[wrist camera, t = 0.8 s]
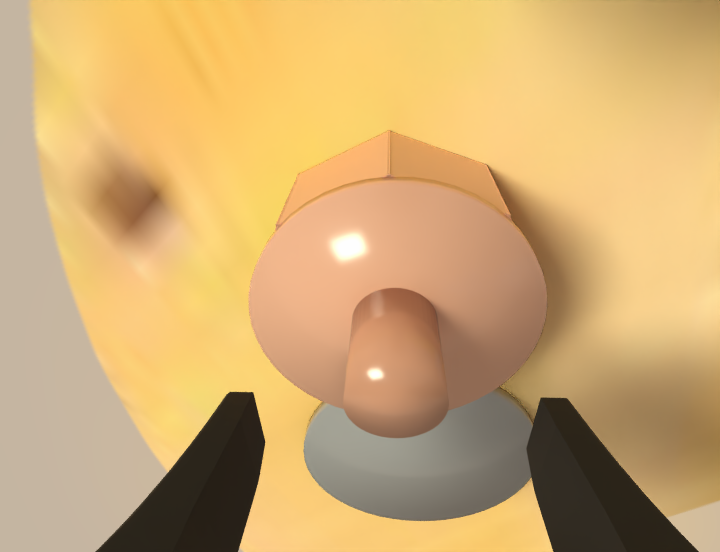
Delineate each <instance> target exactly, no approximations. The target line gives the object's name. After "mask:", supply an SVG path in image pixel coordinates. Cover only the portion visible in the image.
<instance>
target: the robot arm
mask: <svg viewBox="0 0 720 552" xmlns="http://www.w3.org/2000/svg"><path fill="white" fill-rule="evenodd" d="M264 447H265V439H264V435H263V431H262V426H261V422H260V418H259V414H258V410H257V406H256V402H255V398H254V394H253V392H229V393H228V394H227V395H226V396H225V398H224V399H223V401H222V402H221V403H220V405H219V406H218V408H217V409H216V410H215V412H214V413H213V415H212V416H211V417H210V419H209V420H208V422H207V423H206V424H205V426H204V427H203V428H202V430H201V431H200V432H199V434H198V435H197V436H196V438H195V439H194V440H193V442H192V443H191V444H190V446H189V447H188V448H187V449H186V451H185V452H184V453H183V454H182V456H181V457H180V458H179V459H178V461H177V462H176V463H175V465H174V466H173V467H172V468H171V470H170V471H169V472H168V473H167V474H166V476H165V477H164V478H163V479H162V480H161V481H160V483H159V484H158V485H157V486H156V487H155V488H154V490H153V491H152V492H151V493H150V494H149V495H148V497H147V498H146V499H145V500H144V501H143V502H142V504H141V505H140V506H139V507H138V508H137V509H136V510H135V511H134V512H133V514H132V515H131V516H130V517H129V518H128V519H127V520H126V521H125V522H124V523H123V524H122V525H121V526H120V527H119V529H118V530H116V532H115V533H114V534H113V535H112V536H111V537H110V538H109V539H108V540H107V541H106V542H105V543H104V544H103V545H102V546H101V547H100V548H99V549H98V550H97V551H96V552H238V550H239V546H240V543H241V539H242V536H243V533H244V529H245V526H246V523H247V519H248V516H249V512H250V509H251V505H252V502H253V499H254V495H255V492H256V488H257V485H258V480H259V475H260V470H261V464H262V459H263V453H264ZM526 450H527V455H528V461H529V466H530V472H531V477H532V481H533V486H534V491H535V494H536V498H537V501H538V504H539V507H540V510H541V514H542V517H543V520H544V523H545V527H546V530H547V533H548V536H549V539H550V542H551V545H552V549H553V552H699V551H698V550H697V549H696V548H695V547H694V546H692V544H691V543H690V542H689V541H688V540H687V539H686V538H685V537H684V536H683V535H682V534H681V533H680V532H679V531H678V530H677V529H676V528H675V527H674V526H673V525H672V524H671V522H670V521H669V520H668V519H667V518H666V517H665V516H664V515H663V514H662V513H661V512H660V510H659V509H658V508H657V507H656V506H655V505H654V504H653V503H652V502H651V501H650V499H649V498H648V497H647V496H646V495H645V494H644V493H643V492H642V490H641V489H640V488H639V487H638V486H637V485H636V483H635V482H634V481H633V480H632V479H631V478H630V476H629V475H628V474H627V473H626V472H625V470H624V469H623V468H622V467H621V466H620V465H619V463H618V462H617V461H616V460H615V459H614V457H613V456H612V455H611V454H610V452H609V451H608V450H607V449H606V447H605V446H604V445H603V444H602V442H601V441H600V440H599V439H598V437H597V436H596V435H595V434H594V432H593V431H592V430H591V429H590V427H589V426H588V425H587V423H586V422H585V421H584V419H583V418H582V417H581V416H580V414H579V413H578V412H577V410H576V409H575V408H574V406H573V405H572V404H571V403H570V401H569V400H568V399H567V398H541V399H540V402H539V406H538V409H537V413H536V416H535V420H534V423H533V427H532V430H531V434H530V437H529V441H528V444H527V448H526Z"/></svg>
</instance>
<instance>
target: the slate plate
mask: <svg viewBox="0 0 720 552" xmlns="http://www.w3.org/2000/svg"><path fill="white" fill-rule="evenodd" d="M532 427H533V423H532V420H531V418H530V417H529V415H528V413H527V411H526V410H525V409H524V408H523V406H522V405H521V404H520V403H519V402H518V401H517V400H516V399H515V398H514V397H512V396H511V395H510V394H509V393H507V392H506V391H504V390H503V389H501V388H499V387H498V388H496V389H495V390H493V391H492V392H490V393H488V394H487V395H485V396H483V397H481V398H479V399H478V400H475V401H473V402H471V403H468V404H466V405H464V406H461V407H458V408H455V409H451V410H448V412H447V414H446V416H445V418H444V419H443V421H442V422H441V423H440V424H439V425H438V426H436V427H435V428H433V429H432V430H430V431H428V432H426V433H424V434H421V435H418V436H414V437H408V438H386V437H381V436H377V435H373V434H370V433H368V432H366V431H364V430H362V429H360V428H359V427H357V426H356V425H355V424H354V423H352V421H351V420H350V419H349V418H348V416H347V415H346V413H345V410H344V409H341V408H338V407H335V406H333V405H330V404H328V403H325V402H322V403H321V404H320V405H319V406H318V408H317V409H316V410H315V411H314V413H313V415H312V417H311V419H310V420H309V423H308V427H307V430H306V436H305V441H304V458H305V462H306V465H307V468H308V470H309V472H310V473H311V475H312V477H313V478H314V479H315V481H316V482H317V483H318V484H319V485H320V486H321V487H322V488H323V489H324V490H325V491H326V492H327V493H329V494H330V495H332V496H333V497H334V498H336V499H337V500H339V501H341V502H343V503H344V504H346V505H349V506H351V507H353V508H355V509H358V510H361V511H364V512H366V513H370V514H373V515H377V516H381V517H386V518H392V519H399V520H410V521H435V520H446V519H453V518H459V517H463V516H467V515H472V514H475V513H478V512H481V511H484V510H486V509H489V508H491V507H494V506H496V505H498V504H500V503H501V502H503V501H505V500H507V499H508V498H510V497H511V496H513V495H514V494H515V493H517V492H518V491H519V490H520V489H521V488H522V487H523V486H524V485H525V484H526V483H527V482H528V480H529V479H530V478H531V472H530V466H529V461H528V455H527V450H526V448H527V444H528V441H529V437H530V434H531V430H532Z"/></svg>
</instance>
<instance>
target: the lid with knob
mask: <svg viewBox="0 0 720 552" xmlns="http://www.w3.org/2000/svg"><path fill="white" fill-rule="evenodd" d="M510 216H511V214H510V212H509V210H508V208H507V206H506V204H505V202H504V200H503V198H502V196H501V193H500V191H499V189H498V187H497V185H496V183H495V181H494V179H493V177H492V175H491V173H490V171H489V169H488V166H487V165H486V164H483V163H480V162H477V161H474V160H471V159H468V158H465V157H463V156H460V155H457V154H454V153H451V152H448V151H445V150H443V149H440V148H437V147H434V146H431V145H428V144H425V143H423V142H420V141H417V140H414V139H411V138H408V137H405V136H403V135H400V134H397V133H394V132H391V131H390V130H389V131H387V132H385V133H383V134H381V135H379V136H377V137H375V138H373V139H371V140H369V141H367V142H365V143H363V144H361V145H358V146H356V147H354V148H352V149H350V150H348V151H346V152H344V153H342V154H340V155H338V156H336V157H334V158H332V159H329V160H327V161H325V162H323V163H321V164H319V165H317V166H315V167H313V168H311V169H309V170H307V171H305V172H303V173H300V174H298V175H297V178H296V180H295V182H294V185H293V187H292V189H291V191H290V194H289V196H288V198H287V200H286V203H285V205H284V207H283V210H282V212H281V214H280V216H279V219H278V221H277V223H276V229H275V232H274V233H273V234H272V236H271V237H270V238H269V240H268V241H267V243H266V245H265V247H264V249H263V251H262V253H261V255H260V257H259V259H258V262H257V264H256V266H255V269H254V273H253V276H252V279H251V283H250V290H249V313H250V319H251V324H252V327H253V330H254V333H255V336H256V338H257V341H258V343H259V344H260V346H261V348H262V350H263V352H264V353H265V355H266V356H267V357H268V359H269V360H270V362H271V363H272V364H273V365H274V366H275V368H276V369H277V370H278V371H279V372H280V373H281V374H282V375H283V376H284V377H285V378H287V379H288V380H289V381H290V382H291V383H293V384H294V385H295V386H297V387H298V388H300V389H301V390H303V391H304V392H306V393H307V394H309V395H311V396H313V397H315V398H317V399H319V400H320V401H323V402H325V403H328V404H330V405H333V406H335V407H338V408H341V409H344V410H345V413H346V415H347V416H348V418H349V419H350V420H351V421H352V423H354V424H355V425H356V426H357V427H359V428H360V429H362V430H364V431H366V432H368V433H370V434H373V435H377V436H381V437H386V438H408V437H414V436H418V435H421V434H424V433H426V432H428V431H430V430H432V429H433V428H435V427H436V426H438V425H439V424H440V423H441V422H442V421H443V419H444V418H445V416H446V414H447V412H448V410H451V409H455V408H458V407H461V406H464V405H466V404H468V403H471V402H473V401H475V400H478V399H479V398H481V397H483V396H485V395H487V394H488V393H490V392H492V391H493V390H495V389H496V388H498V387H499V386H500V385H502V384H503V383H505V382H506V381H507V380H508V379H509V378H510V377H511V376H513V375H514V374H515V373H516V372H517V371H518V370H519V368H520V367H521V366H522V365H523V364H524V363H525V362H526V360H527V359H528V357H529V356H530V354H531V353H532V351H533V350H534V348H535V347H536V344H537V342H538V340H539V338H540V336H541V334H542V330H543V327H544V323H545V320H546V312H547V287H546V283H545V279H544V275H543V271H542V269H541V267H540V264H539V262H538V260H537V258H536V255H535V253H534V251H533V249H532V247H531V245H530V244H529V242H528V241H527V239H526V238H525V236H524V235H523V233H522V232H521V230H520V229H519V228H518V227H517V226H516V225H515V224H514V223H513V221H512V219H511V217H510Z"/></svg>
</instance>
